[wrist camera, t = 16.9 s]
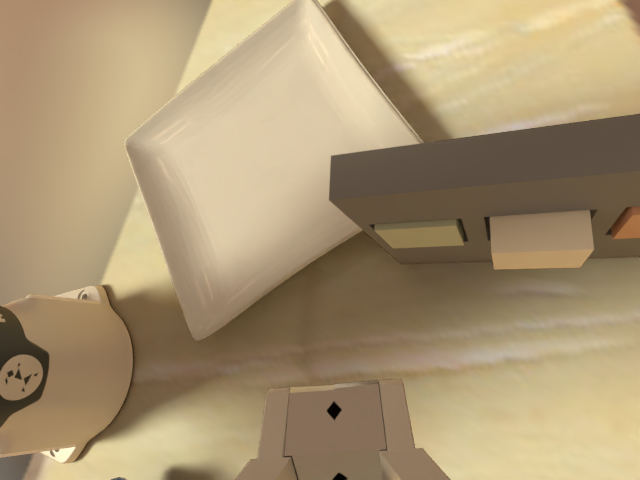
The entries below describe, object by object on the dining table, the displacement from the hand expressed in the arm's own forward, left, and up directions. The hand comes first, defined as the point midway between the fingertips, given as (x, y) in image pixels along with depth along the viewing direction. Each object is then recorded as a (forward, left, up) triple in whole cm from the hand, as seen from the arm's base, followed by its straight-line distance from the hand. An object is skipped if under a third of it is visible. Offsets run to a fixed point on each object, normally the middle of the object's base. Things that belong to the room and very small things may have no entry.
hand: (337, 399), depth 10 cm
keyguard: (+5, +12, -27) cm, 30 cm away
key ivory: (+5, +9, -20) cm, 22 cm away
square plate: (-19, +20, -28) cm, 39 cm away
